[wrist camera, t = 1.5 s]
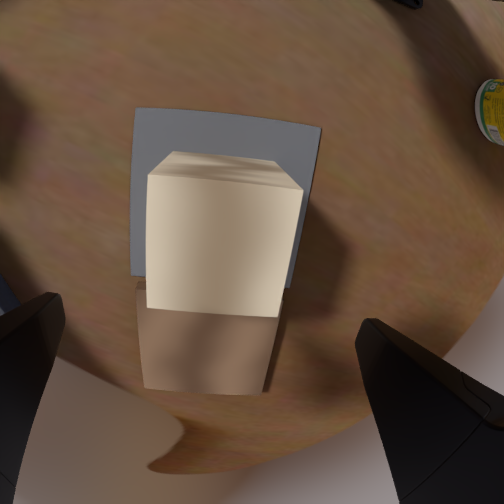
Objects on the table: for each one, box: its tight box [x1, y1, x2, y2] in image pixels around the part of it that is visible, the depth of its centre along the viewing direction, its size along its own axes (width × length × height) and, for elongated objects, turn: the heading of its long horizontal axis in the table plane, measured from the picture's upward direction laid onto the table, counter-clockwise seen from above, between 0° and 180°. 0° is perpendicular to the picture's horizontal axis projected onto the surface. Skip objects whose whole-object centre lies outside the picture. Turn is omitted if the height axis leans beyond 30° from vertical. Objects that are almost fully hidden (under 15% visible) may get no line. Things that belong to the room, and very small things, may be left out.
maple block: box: [146, 151, 304, 317], centre depth 16 cm, size 6×6×7 cm
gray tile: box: [130, 108, 321, 288], centre depth 20 cm, size 11×11×1 cm
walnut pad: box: [136, 282, 284, 395], centre depth 24 cm, size 10×10×1 cm
